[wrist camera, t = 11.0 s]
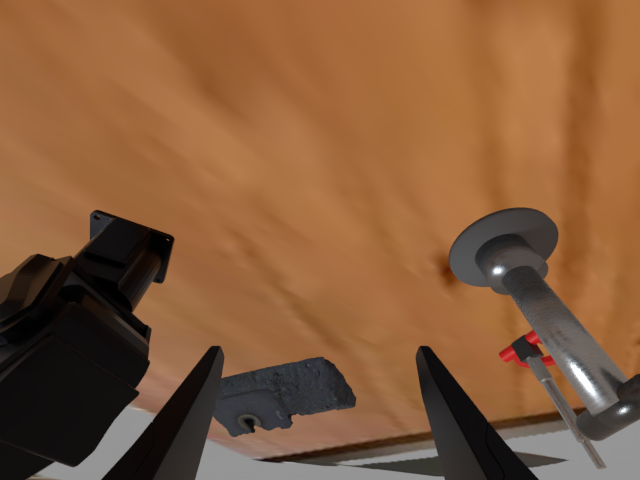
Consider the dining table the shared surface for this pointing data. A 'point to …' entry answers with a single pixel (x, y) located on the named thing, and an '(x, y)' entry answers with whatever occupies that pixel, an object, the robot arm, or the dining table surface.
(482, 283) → the mat
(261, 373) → the cast iron trivet
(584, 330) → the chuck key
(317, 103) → the dining table surface
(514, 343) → the tow hook
